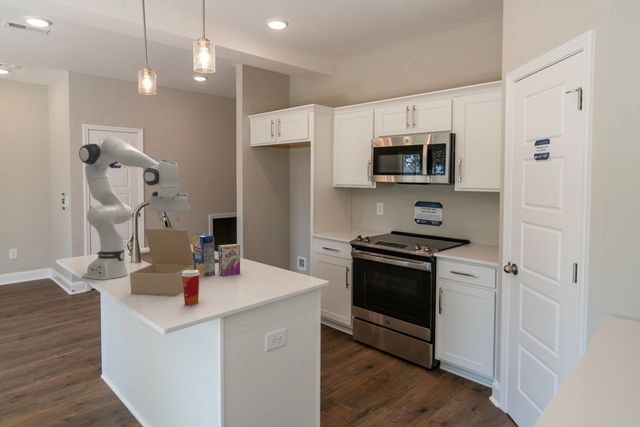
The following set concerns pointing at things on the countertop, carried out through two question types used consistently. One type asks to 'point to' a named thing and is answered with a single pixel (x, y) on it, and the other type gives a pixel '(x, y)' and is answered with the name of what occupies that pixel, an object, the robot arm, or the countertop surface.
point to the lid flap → (169, 246)
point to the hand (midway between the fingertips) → (170, 220)
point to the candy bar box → (229, 259)
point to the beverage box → (204, 254)
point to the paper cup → (191, 286)
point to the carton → (158, 279)
